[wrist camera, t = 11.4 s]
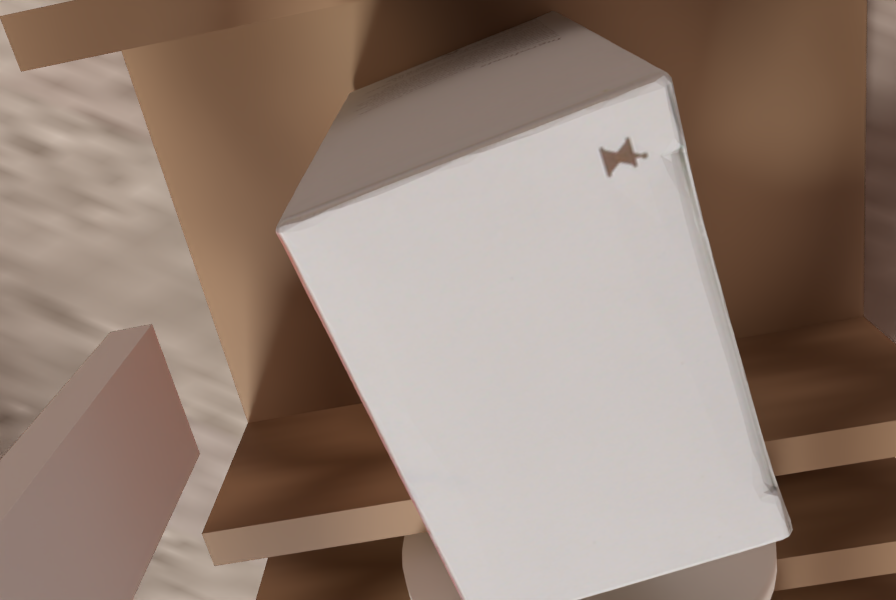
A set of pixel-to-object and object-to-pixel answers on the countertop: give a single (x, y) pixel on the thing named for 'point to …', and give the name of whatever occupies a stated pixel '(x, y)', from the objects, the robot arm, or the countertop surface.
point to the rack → (724, 214)
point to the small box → (537, 315)
